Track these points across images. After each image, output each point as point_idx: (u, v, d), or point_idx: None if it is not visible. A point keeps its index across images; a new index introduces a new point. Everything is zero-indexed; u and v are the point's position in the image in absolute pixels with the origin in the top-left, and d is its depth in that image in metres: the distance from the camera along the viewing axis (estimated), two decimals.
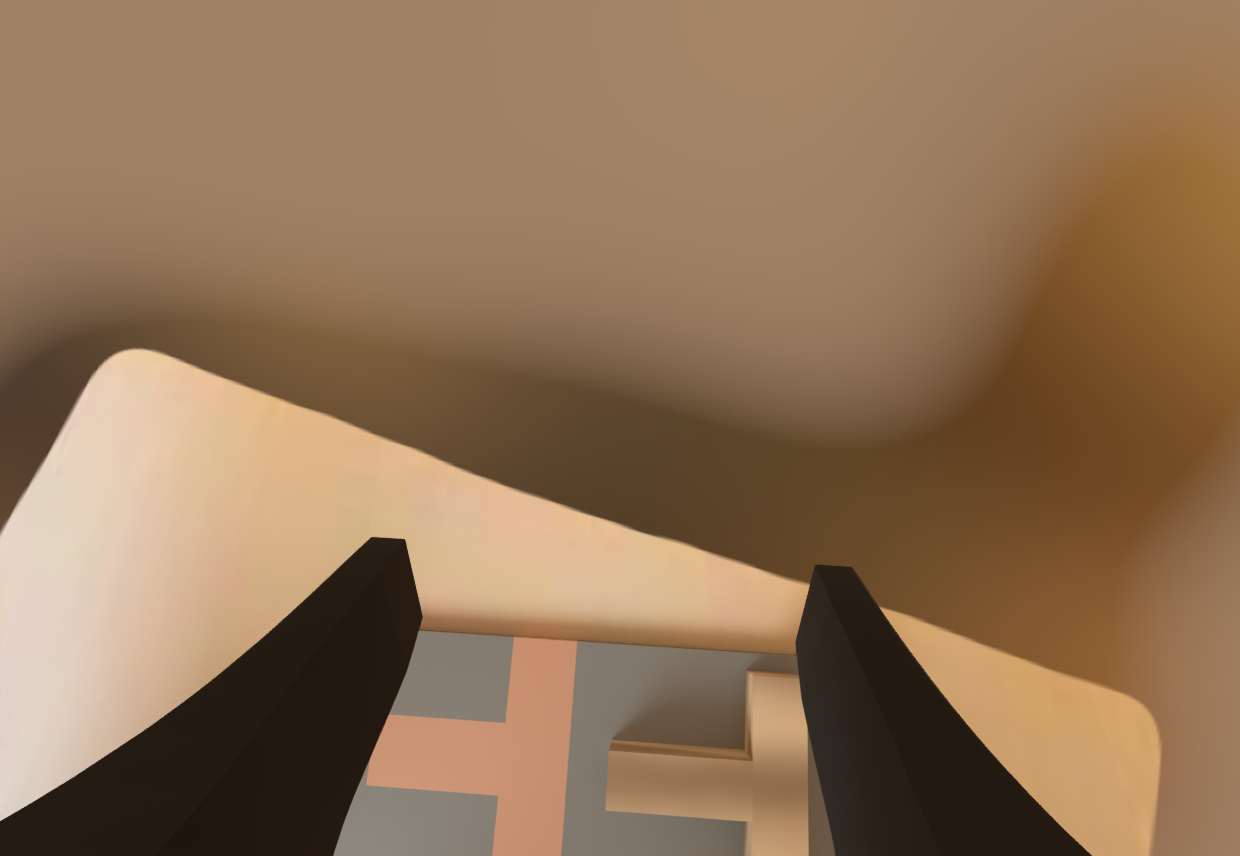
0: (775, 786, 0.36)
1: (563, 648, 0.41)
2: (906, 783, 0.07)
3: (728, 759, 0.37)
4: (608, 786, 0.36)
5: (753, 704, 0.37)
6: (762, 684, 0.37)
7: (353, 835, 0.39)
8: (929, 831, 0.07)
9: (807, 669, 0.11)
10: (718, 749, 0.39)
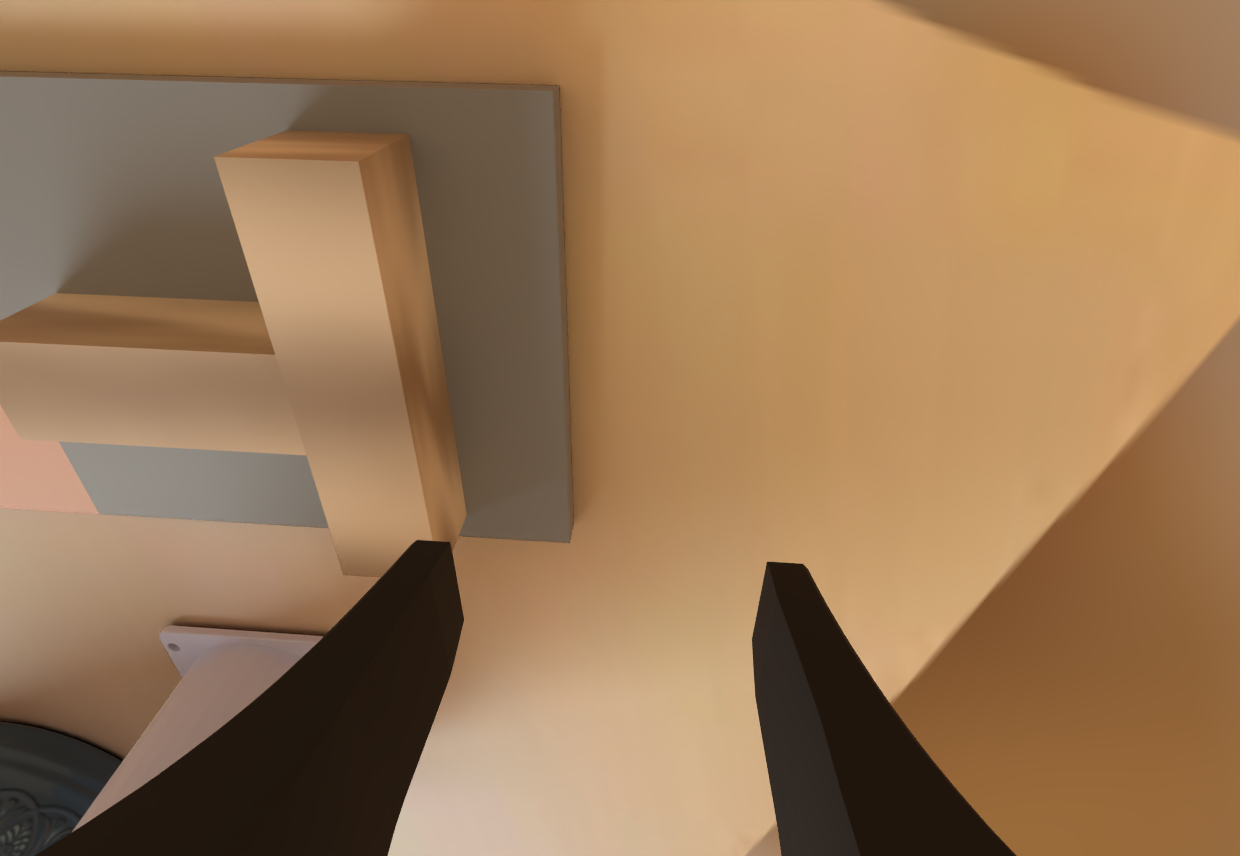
0: (336, 400, 0.16)
1: None
2: (833, 777, 0.07)
3: (223, 351, 0.16)
4: (2, 402, 0.17)
5: (242, 232, 0.14)
6: (244, 181, 0.14)
7: None
8: (851, 824, 0.07)
9: (760, 666, 0.11)
10: None
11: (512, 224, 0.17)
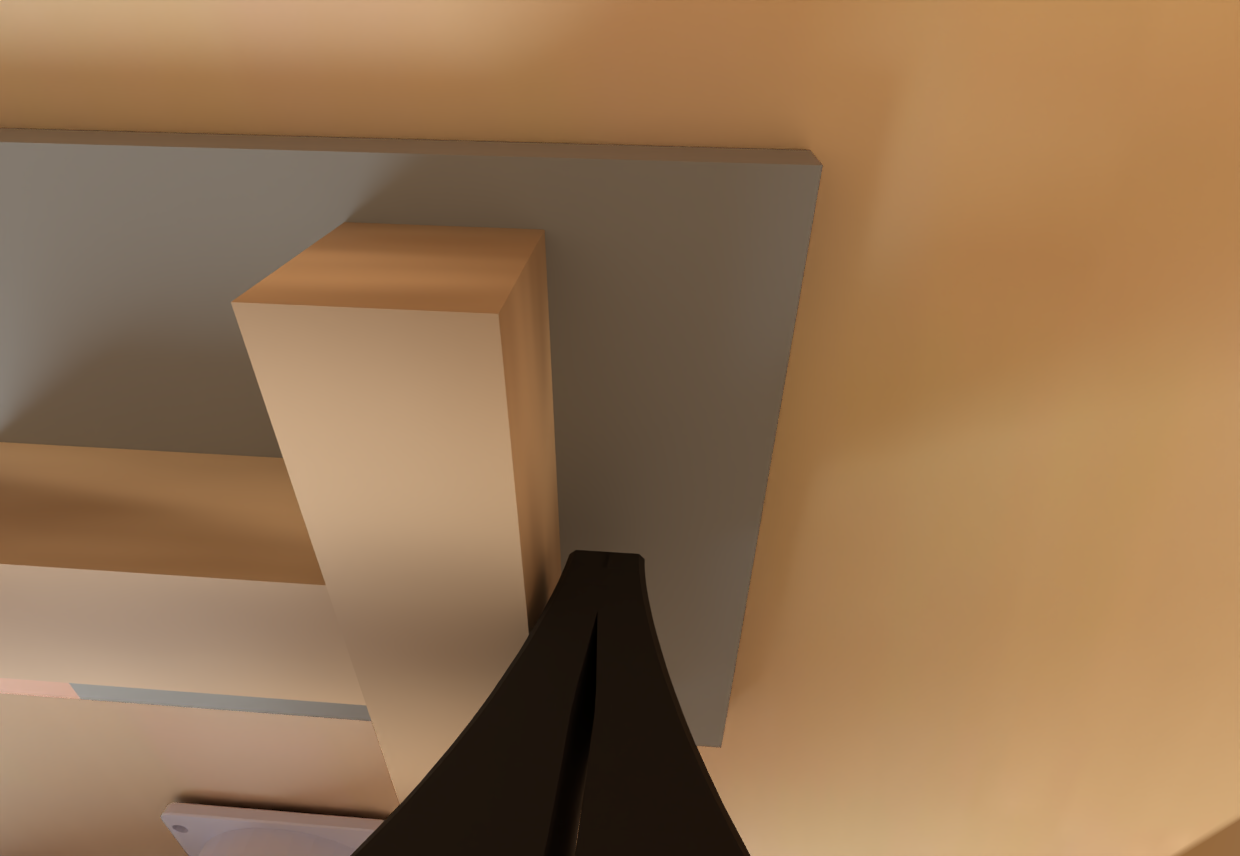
0: (418, 643, 0.10)
1: None
2: (589, 758, 0.08)
3: (242, 576, 0.10)
4: None
5: None
6: (285, 342, 0.08)
7: None
8: (586, 803, 0.07)
9: None
10: None
11: (714, 362, 0.11)
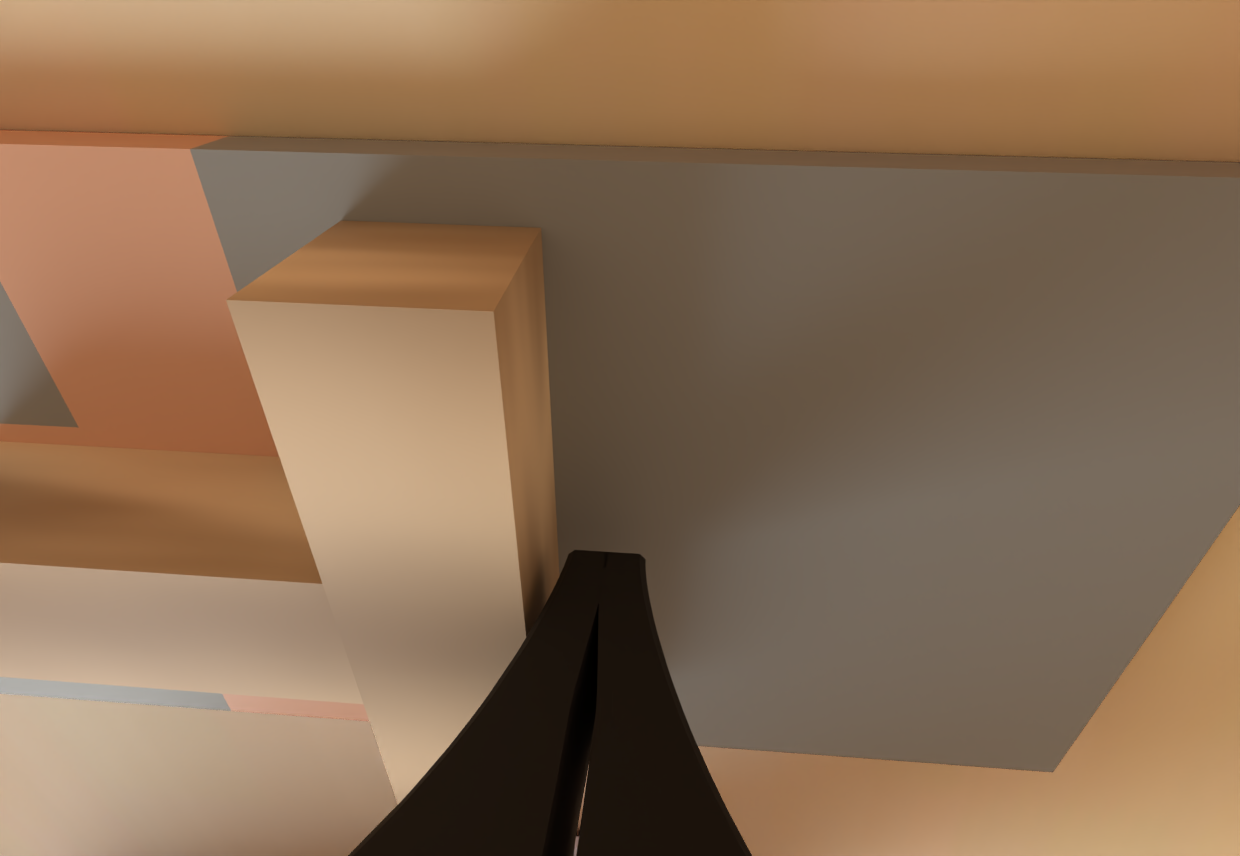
0: (416, 642, 0.10)
1: (147, 181, 0.10)
2: (590, 758, 0.08)
3: (239, 574, 0.10)
4: None
5: None
6: (280, 339, 0.08)
7: None
8: (587, 803, 0.07)
9: None
10: None
11: None
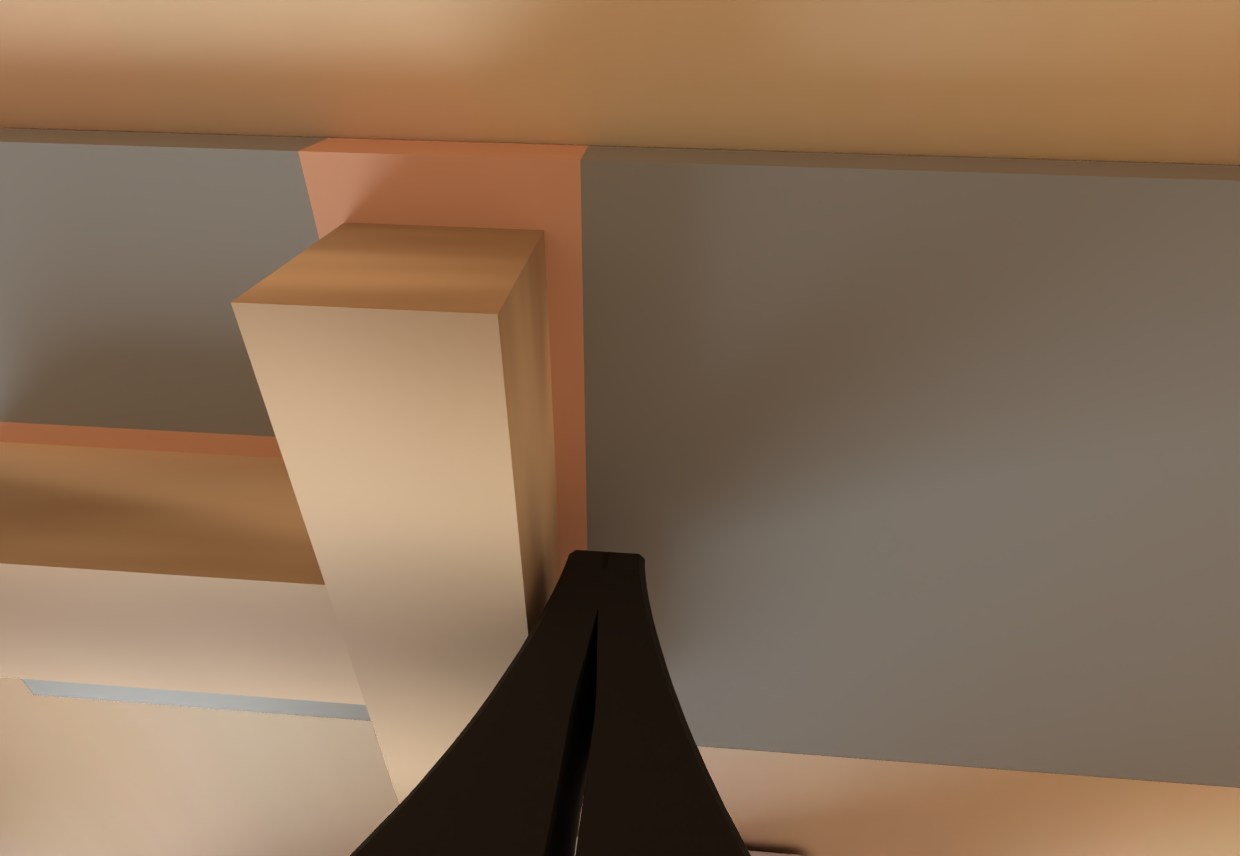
0: (418, 642, 0.10)
1: (523, 193, 0.09)
2: (589, 757, 0.08)
3: (241, 575, 0.10)
4: None
5: None
6: (285, 342, 0.08)
7: None
8: (586, 803, 0.07)
9: None
10: None
11: None
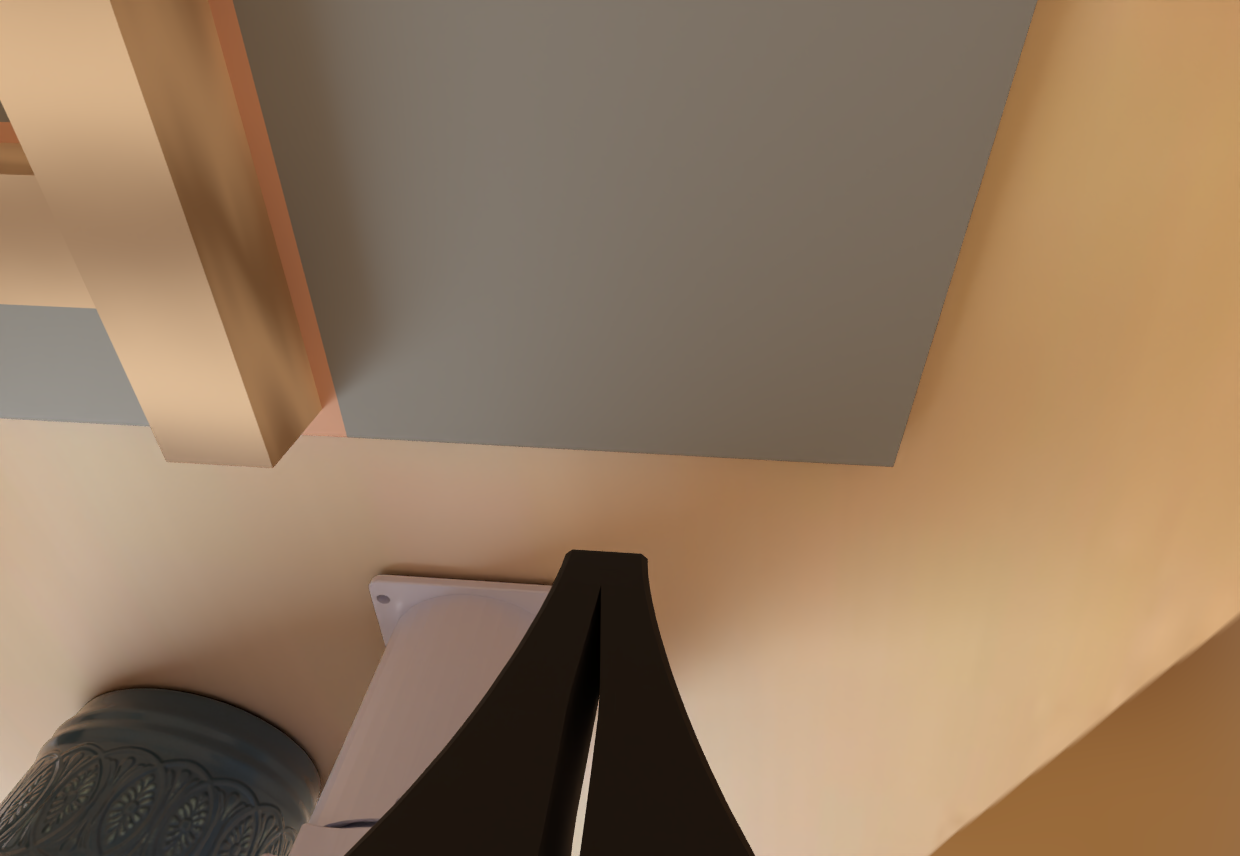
0: (113, 234, 0.14)
1: None
2: (593, 758, 0.08)
3: None
4: None
5: None
6: None
7: None
8: (590, 803, 0.07)
9: None
10: None
11: (964, 52, 0.14)
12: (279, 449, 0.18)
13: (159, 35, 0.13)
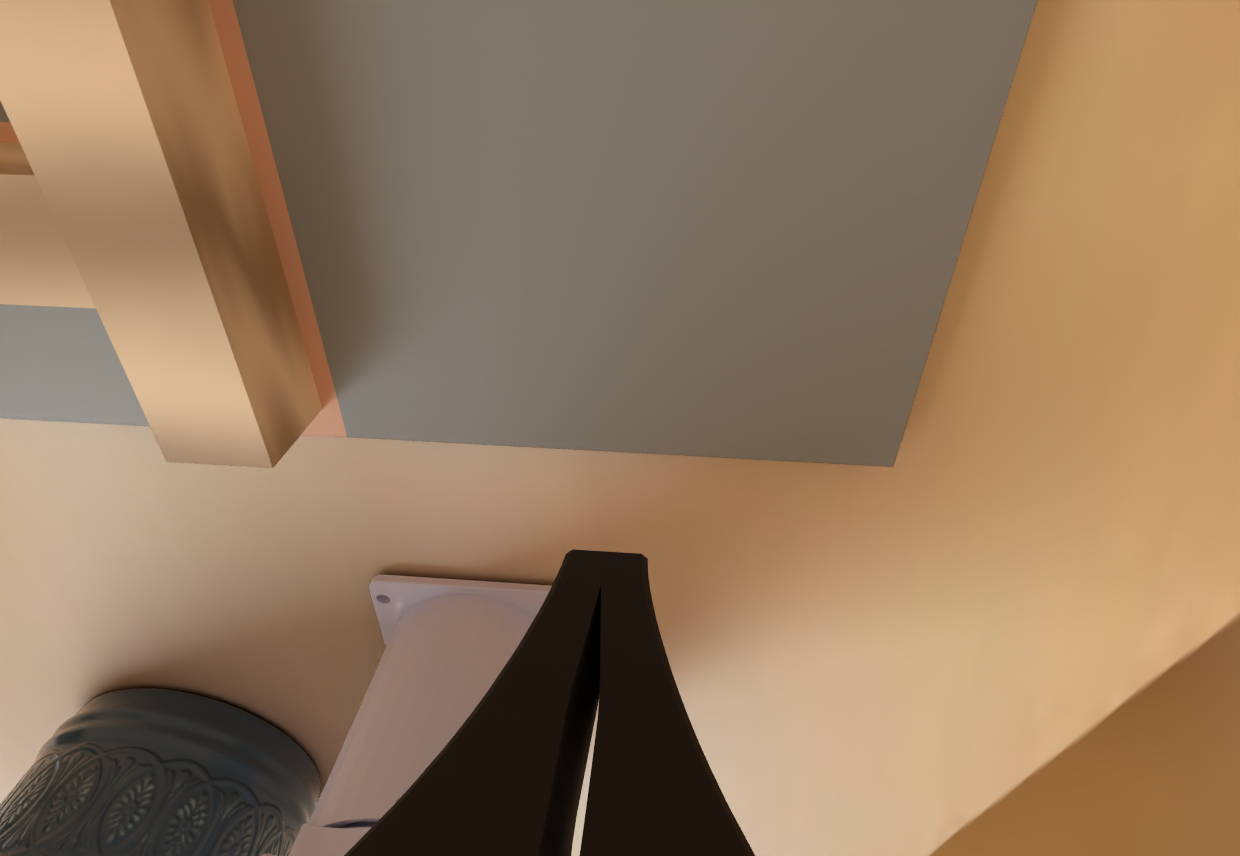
0: (113, 234, 0.14)
1: None
2: (593, 758, 0.08)
3: None
4: None
5: None
6: None
7: None
8: (590, 803, 0.07)
9: None
10: None
11: (964, 52, 0.14)
12: (279, 449, 0.18)
13: (159, 35, 0.13)
